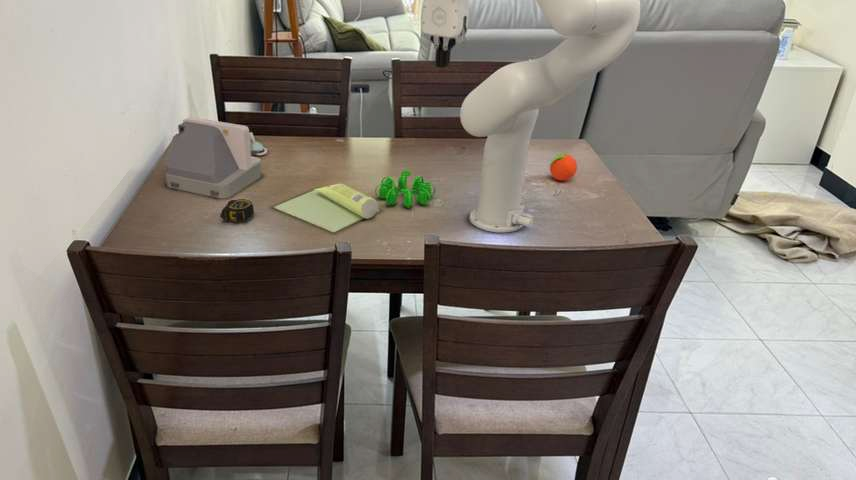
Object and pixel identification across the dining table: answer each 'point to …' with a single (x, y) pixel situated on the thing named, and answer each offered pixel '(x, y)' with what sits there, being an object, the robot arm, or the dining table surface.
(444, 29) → the robot arm
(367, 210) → the tube
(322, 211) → the mat
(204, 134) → the instant camera
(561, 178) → the clementine
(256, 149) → the pacifier
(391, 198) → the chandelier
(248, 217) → the tape measure
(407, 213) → the dining table surface
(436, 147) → the dining table surface
